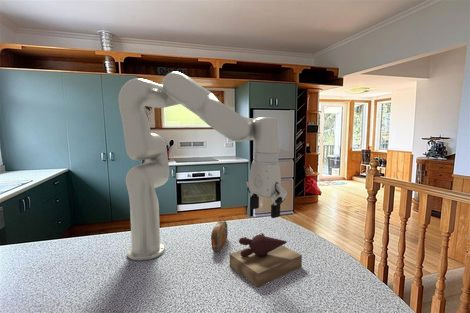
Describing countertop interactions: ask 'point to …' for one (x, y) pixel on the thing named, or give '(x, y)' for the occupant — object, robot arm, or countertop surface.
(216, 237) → the tin
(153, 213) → the robot arm
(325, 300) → the countertop surface
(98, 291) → the countertop surface
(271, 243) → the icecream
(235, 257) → the base
